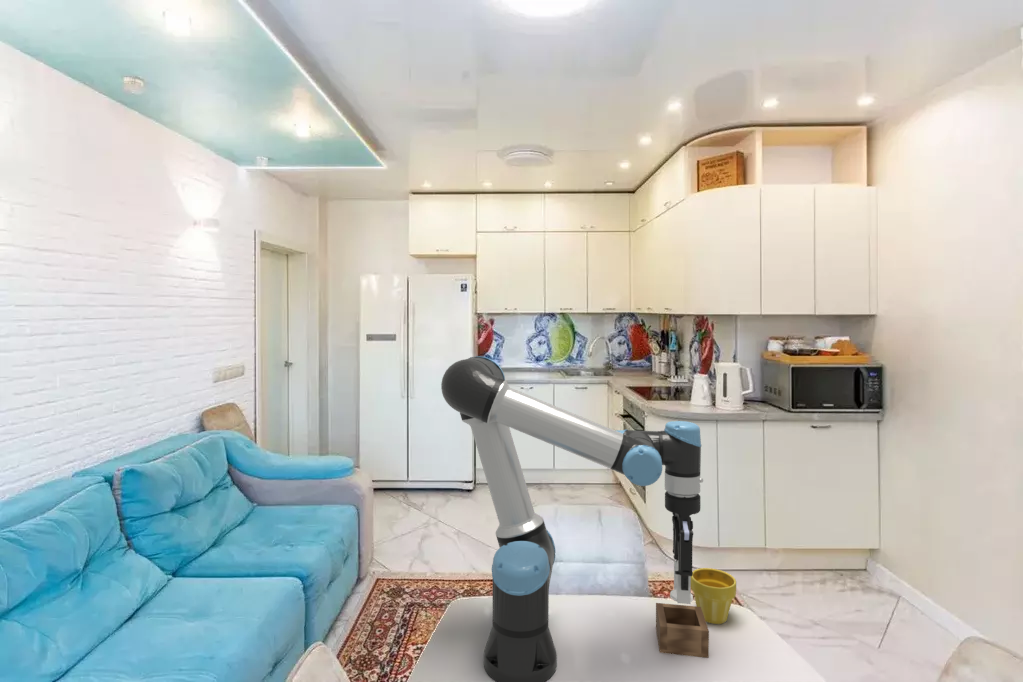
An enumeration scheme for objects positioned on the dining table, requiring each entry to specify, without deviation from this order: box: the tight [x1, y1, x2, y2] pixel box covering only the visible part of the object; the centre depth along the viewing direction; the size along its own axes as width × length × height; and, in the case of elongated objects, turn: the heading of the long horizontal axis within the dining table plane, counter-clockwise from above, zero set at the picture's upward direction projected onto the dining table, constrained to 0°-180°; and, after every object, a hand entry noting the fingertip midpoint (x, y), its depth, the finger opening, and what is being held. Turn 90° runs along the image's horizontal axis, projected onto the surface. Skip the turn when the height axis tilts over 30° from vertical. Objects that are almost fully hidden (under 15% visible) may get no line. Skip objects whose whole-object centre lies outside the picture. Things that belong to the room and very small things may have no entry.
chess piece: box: [669, 561, 694, 603], centre depth 119 cm, size 5×5×10 cm
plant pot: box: [691, 567, 737, 625], centre depth 130 cm, size 10×10×10 cm
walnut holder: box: [655, 602, 710, 659], centre depth 120 cm, size 10×10×6 cm
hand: (681, 596), depth 119 cm, fingers closed on chess piece, 5 cm apart
